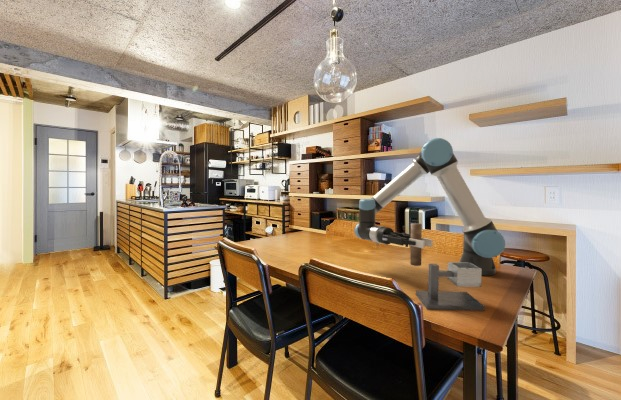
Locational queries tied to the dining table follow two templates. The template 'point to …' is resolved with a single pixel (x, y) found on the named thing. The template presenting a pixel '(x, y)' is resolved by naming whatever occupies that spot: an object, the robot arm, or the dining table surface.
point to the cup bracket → (445, 300)
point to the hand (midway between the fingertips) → (427, 244)
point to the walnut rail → (416, 251)
